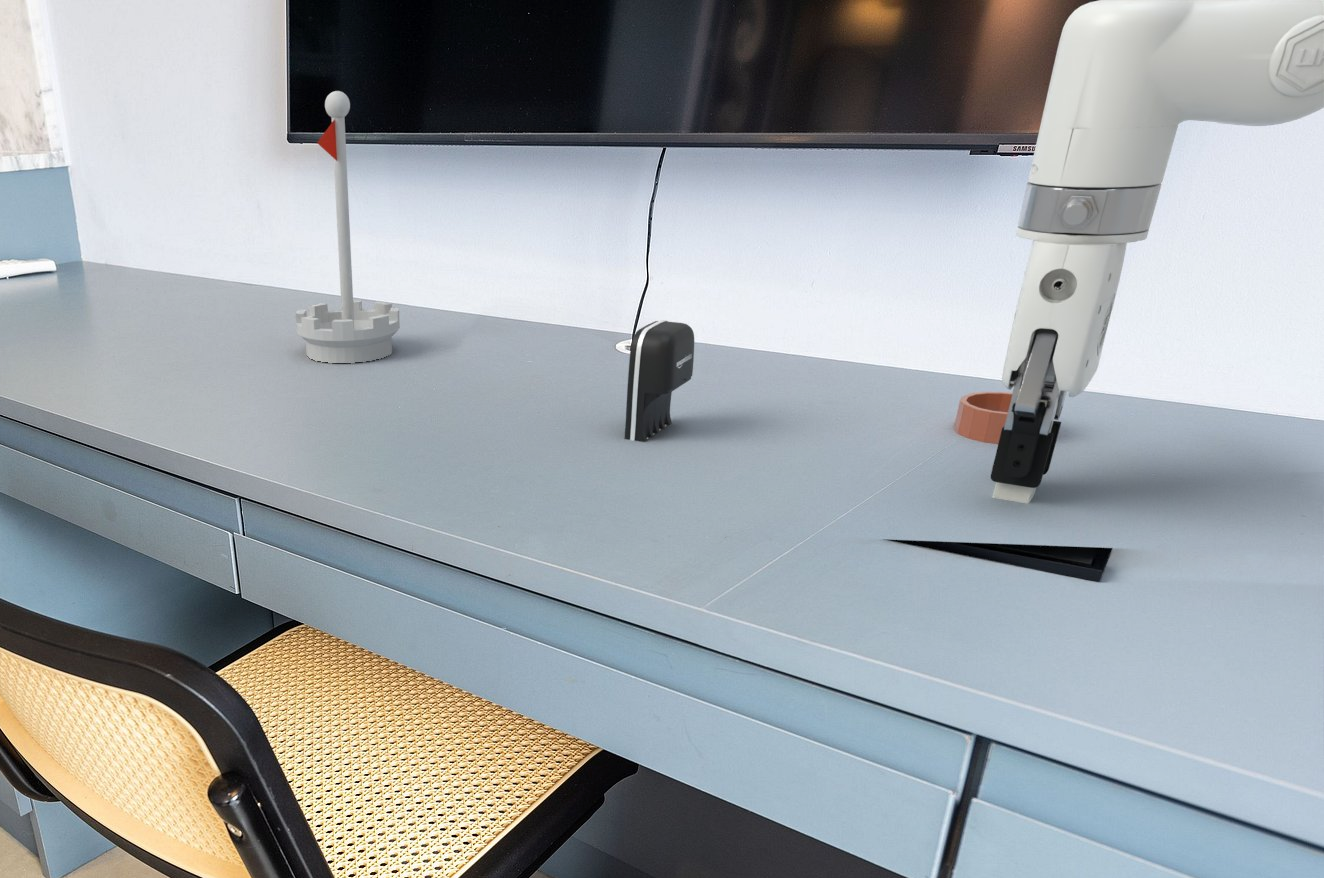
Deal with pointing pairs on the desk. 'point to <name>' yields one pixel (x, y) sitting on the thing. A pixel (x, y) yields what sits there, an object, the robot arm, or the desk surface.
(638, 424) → the battery charger
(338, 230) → the flag stand
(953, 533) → the desk surface
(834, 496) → the desk surface
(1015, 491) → the grey piece
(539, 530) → the desk surface
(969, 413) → the bangle ring
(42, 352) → the desk surface
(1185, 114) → the robot arm
